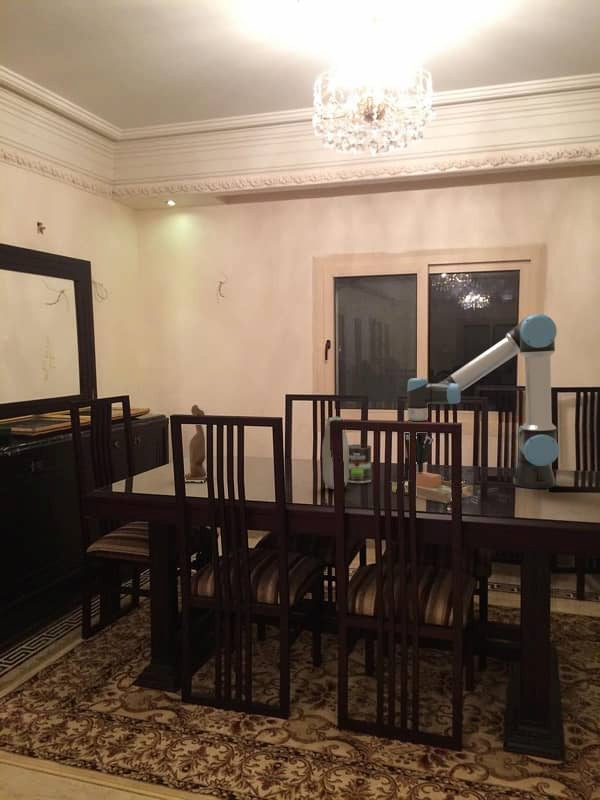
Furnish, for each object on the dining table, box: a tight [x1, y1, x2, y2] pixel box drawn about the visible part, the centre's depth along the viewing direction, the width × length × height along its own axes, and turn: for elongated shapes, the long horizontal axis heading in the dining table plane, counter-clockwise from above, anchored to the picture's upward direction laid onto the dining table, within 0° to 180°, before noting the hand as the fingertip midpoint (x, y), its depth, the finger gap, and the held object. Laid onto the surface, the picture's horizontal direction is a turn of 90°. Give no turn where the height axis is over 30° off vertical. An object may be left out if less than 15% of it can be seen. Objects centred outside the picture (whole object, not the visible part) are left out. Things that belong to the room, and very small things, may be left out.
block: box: [417, 471, 442, 488], centre depth 236 cm, size 6×8×4 cm
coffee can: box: [348, 444, 372, 484], centre depth 255 cm, size 10×10×14 cm
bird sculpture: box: [184, 404, 207, 481], centre depth 261 cm, size 11×12×32 cm
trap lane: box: [391, 479, 474, 504], centre depth 232 cm, size 16×26×4 cm, turn 41°
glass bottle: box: [321, 416, 349, 490], centre depth 241 cm, size 10×10×28 cm
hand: (417, 480), depth 240 cm, fingers closed
